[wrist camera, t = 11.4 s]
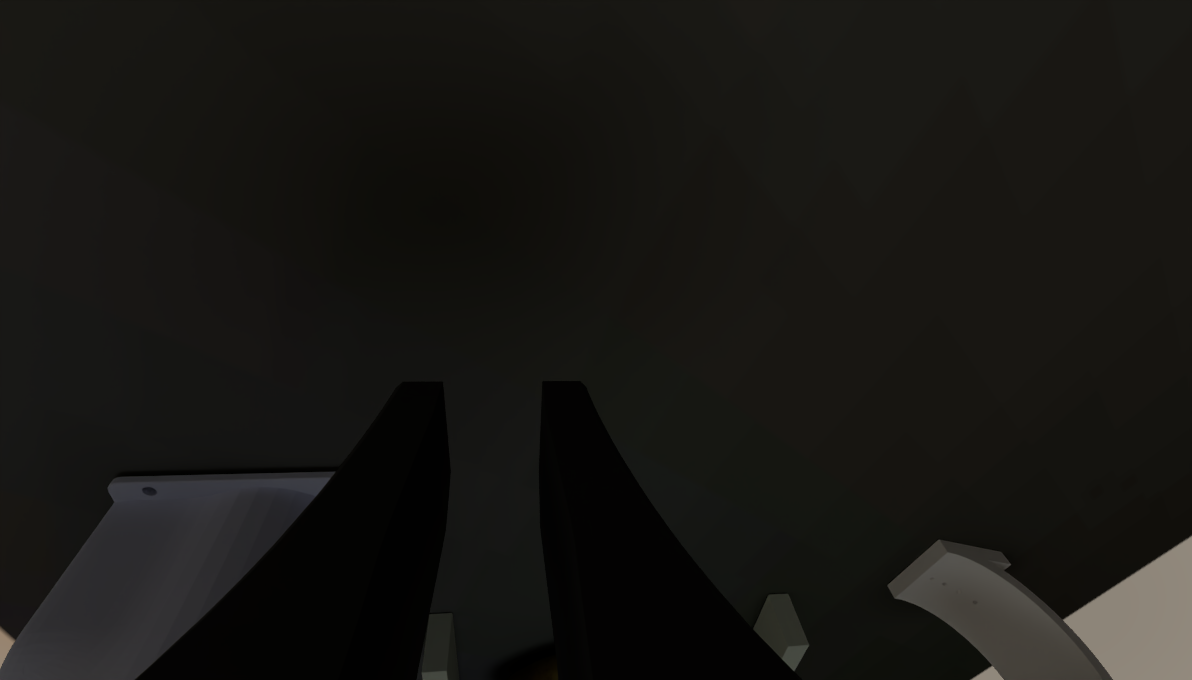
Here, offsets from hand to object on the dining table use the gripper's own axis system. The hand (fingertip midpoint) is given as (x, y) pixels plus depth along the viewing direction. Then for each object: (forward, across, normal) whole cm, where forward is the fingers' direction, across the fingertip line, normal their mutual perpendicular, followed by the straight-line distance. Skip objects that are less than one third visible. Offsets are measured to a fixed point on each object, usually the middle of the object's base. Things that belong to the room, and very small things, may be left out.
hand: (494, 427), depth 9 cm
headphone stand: (+11, -26, +22) cm, 36 cm away
